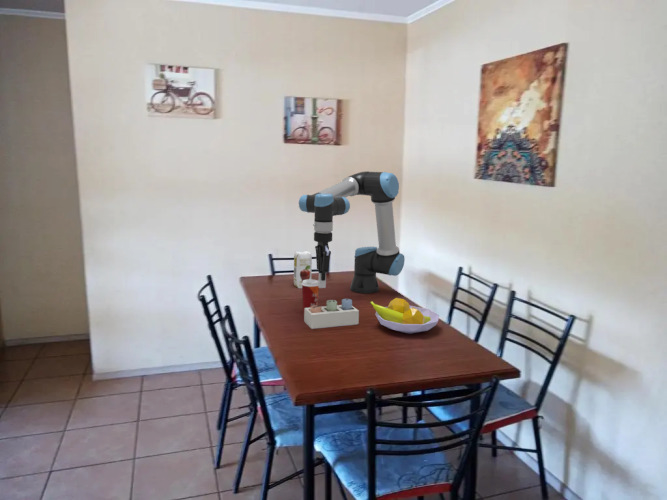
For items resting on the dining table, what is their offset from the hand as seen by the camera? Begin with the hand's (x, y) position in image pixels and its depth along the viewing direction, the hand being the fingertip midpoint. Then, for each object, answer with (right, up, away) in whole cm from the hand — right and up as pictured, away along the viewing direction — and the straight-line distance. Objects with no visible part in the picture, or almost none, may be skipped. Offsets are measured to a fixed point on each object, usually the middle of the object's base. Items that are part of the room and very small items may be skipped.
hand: (322, 287), depth 214 cm
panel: (+4, -16, +4) cm, 17 cm away
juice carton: (-12, -4, +63) cm, 64 cm away
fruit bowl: (+35, -17, +1) cm, 39 cm away
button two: (+4, -12, +4) cm, 13 cm away
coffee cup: (-6, -13, +17) cm, 22 cm away
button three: (-3, -14, +2) cm, 14 cm away
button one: (+10, -12, +6) cm, 17 cm away
